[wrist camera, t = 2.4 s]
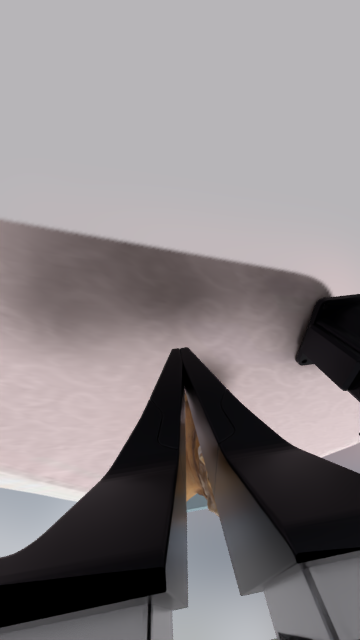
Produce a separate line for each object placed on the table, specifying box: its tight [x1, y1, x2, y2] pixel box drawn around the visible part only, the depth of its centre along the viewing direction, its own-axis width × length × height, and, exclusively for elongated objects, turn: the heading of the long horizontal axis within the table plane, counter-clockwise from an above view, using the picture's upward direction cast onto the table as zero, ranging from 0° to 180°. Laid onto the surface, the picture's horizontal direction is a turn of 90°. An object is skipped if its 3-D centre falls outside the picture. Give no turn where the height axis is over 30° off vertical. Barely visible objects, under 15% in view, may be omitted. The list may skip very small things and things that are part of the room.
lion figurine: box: [185, 394, 219, 516], centre depth 15 cm, size 15×5×9 cm, turn 152°
